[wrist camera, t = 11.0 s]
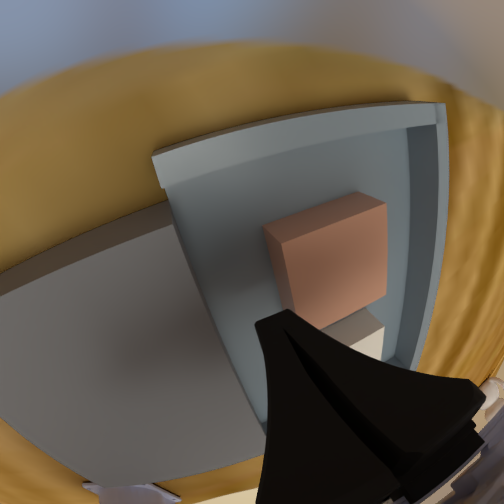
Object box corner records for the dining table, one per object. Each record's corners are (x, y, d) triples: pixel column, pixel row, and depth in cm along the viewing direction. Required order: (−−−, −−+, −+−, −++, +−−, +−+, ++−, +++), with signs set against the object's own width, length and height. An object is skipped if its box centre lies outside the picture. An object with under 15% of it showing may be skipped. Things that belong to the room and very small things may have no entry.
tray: (398, 354, 21) (415, 372, 19) (261, 424, 19) (273, 449, 17) (409, 100, 12) (445, 103, 10) (153, 151, 10) (151, 157, 8)
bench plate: (259, 419, 19) (273, 450, 16) (102, 458, 16) (104, 488, 14) (169, 199, 11) (173, 224, 8) (-48, 301, 8) (-71, 334, 6)
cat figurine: (463, 405, 56) (490, 436, 43) (485, 377, 50) (516, 408, 38) (476, 394, 58) (502, 421, 46) (497, 365, 53) (526, 394, 40)
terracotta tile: (300, 338, 13) (283, 313, 14) (386, 294, 13) (363, 276, 15) (281, 243, 10) (261, 225, 12) (386, 203, 11) (358, 191, 13)
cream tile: (315, 409, 16) (302, 388, 18) (378, 374, 17) (363, 356, 19) (307, 367, 14) (292, 343, 15) (384, 326, 15) (365, 307, 16)
